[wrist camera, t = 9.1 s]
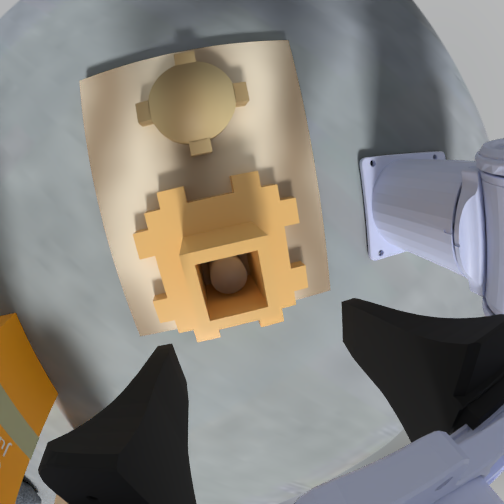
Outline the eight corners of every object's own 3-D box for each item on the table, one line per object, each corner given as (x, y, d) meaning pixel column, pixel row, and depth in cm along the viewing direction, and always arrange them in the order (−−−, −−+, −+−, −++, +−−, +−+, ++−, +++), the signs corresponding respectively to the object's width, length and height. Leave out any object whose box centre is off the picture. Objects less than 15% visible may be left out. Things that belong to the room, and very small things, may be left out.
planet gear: (285, 165, 18) (316, 163, 13) (306, 307, 21) (335, 342, 16) (128, 199, 17) (104, 209, 12) (170, 340, 20) (165, 385, 15)
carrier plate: (283, 46, 17) (303, 21, 13) (323, 284, 22) (349, 307, 18) (85, 85, 15) (61, 67, 11) (142, 328, 20) (133, 360, 16)
